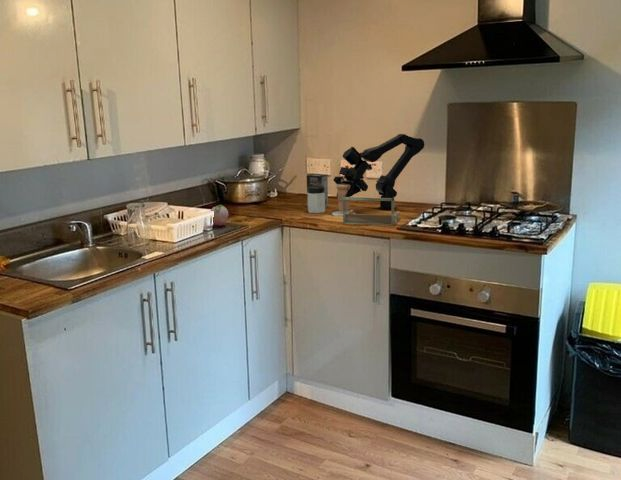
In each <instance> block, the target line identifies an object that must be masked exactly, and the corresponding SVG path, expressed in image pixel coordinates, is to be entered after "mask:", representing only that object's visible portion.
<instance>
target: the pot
mask: <svg viewBox="0 0 621 480" xmlns="http://www.w3.org/2000/svg"><path fill="white" fill-rule="evenodd" d="M335 186H336V189H337V192H336V194H337V193H338V198H337V201H338V203H337V204H338V206H337V207H338V210H337V211H343V197H345V196H346V194H347V192H348V190H349V189H350V184H335ZM349 204H350V200H346V211H350V210H349V209H350V205H349Z"/></svg>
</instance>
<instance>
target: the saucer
mask: <svg viewBox="0 0 621 480" xmlns="http://www.w3.org/2000/svg"><path fill="white" fill-rule="evenodd" d="M349 211H350V210H348V211H346V213H348V212H349ZM354 214H356V212H355V211H354ZM331 216H333V217H338V216H342V217H343V211H339V210H337V211H333V212H331Z"/></svg>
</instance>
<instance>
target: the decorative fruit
mask: <svg viewBox="0 0 621 480" xmlns="http://www.w3.org/2000/svg"><path fill="white" fill-rule="evenodd" d="M210 211H214V217H213V222H212V223H213V224H215V225H217V226H219V227H221V226H223V225H225V224H226V223H227V221H228V219H229V211H228V209H227V208H226V207H225V206H224V205H223V204H218V205H216V206H213V207H212V208H211V209H210Z"/></svg>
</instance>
